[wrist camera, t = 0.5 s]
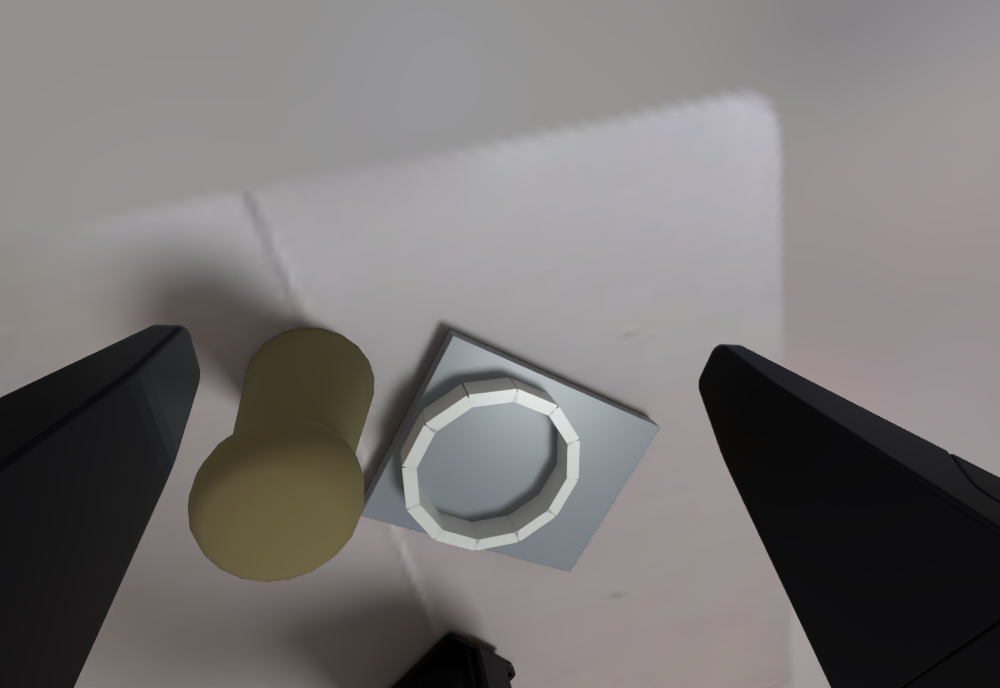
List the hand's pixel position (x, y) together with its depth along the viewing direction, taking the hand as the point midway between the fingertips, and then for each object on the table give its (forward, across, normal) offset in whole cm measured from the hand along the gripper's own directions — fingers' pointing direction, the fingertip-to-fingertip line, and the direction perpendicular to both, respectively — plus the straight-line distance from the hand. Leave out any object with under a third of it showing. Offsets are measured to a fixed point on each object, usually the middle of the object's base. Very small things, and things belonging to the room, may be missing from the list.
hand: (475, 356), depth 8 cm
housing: (+12, -5, +17) cm, 21 cm away
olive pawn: (+13, +6, +12) cm, 19 cm away
